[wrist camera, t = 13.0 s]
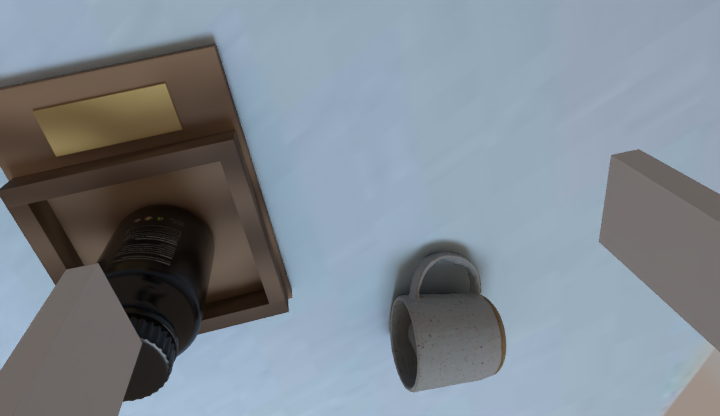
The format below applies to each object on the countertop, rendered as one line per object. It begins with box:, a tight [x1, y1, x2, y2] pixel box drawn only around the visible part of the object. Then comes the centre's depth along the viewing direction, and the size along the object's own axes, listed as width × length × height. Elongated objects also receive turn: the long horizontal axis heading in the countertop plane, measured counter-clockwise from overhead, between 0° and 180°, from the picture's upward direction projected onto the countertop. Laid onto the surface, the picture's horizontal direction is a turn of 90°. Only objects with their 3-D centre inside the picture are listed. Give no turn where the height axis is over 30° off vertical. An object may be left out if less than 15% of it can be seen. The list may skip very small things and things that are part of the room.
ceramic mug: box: [390, 252, 506, 392], centre depth 38 cm, size 11×8×8 cm
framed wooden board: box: [0, 44, 292, 335], centre depth 32 cm, size 20×15×3 cm
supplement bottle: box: [96, 204, 215, 402], centre depth 28 cm, size 7×7×12 cm
